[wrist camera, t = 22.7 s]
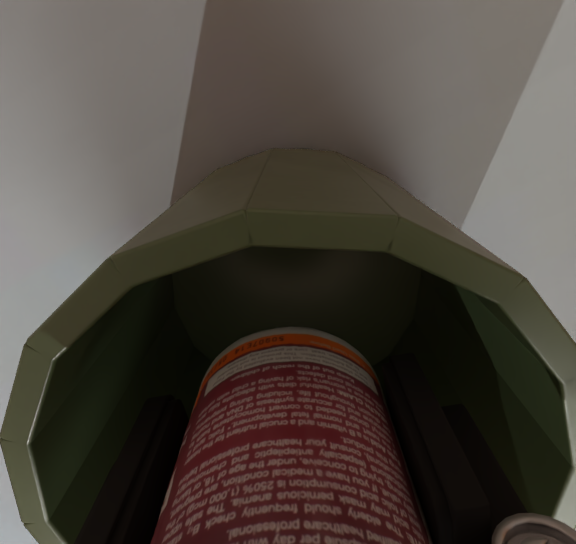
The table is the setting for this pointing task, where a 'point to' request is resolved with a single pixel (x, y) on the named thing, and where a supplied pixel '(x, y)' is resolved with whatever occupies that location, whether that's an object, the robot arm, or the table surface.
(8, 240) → the table surface
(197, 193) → the pot
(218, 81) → the table surface
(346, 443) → the pill bottle
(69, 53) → the table surface
